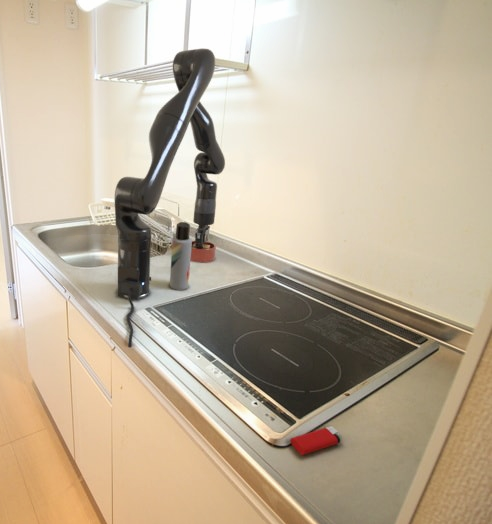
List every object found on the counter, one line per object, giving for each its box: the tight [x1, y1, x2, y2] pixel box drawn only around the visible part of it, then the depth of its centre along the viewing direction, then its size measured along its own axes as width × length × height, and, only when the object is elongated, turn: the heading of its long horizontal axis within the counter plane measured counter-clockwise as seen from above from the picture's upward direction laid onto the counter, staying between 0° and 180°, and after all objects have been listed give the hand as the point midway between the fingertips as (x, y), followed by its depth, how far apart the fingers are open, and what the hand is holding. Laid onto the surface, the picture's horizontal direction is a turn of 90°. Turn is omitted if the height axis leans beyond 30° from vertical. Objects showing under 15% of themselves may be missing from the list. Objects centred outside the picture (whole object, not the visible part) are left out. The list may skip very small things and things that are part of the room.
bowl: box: [190, 240, 217, 263], centre depth 136 cm, size 11×11×5 cm
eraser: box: [192, 244, 210, 249], centre depth 136 cm, size 6×4×4 cm, turn 68°
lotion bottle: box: [169, 221, 193, 291], centre depth 108 cm, size 6×6×20 cm
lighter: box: [290, 425, 341, 456], centre depth 57 cm, size 3×1×8 cm
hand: (200, 255), depth 137 cm, fingers closed on eraser, 4 cm apart
